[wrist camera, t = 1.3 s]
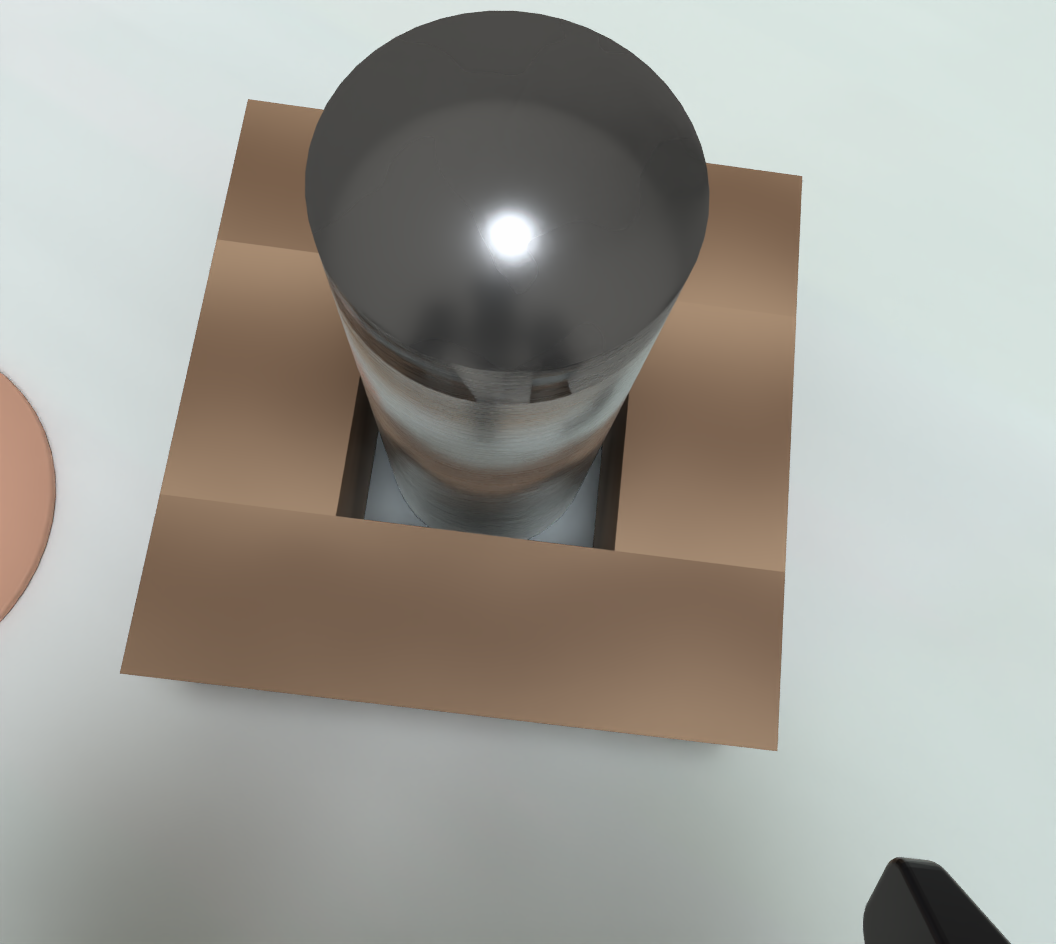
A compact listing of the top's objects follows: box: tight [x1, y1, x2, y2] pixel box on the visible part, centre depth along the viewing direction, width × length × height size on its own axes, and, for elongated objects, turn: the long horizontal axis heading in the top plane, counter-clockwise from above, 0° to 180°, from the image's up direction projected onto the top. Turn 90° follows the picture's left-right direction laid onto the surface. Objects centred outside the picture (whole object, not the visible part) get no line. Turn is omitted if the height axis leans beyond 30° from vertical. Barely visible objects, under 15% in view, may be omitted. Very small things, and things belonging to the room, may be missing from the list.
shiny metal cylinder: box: [305, 11, 710, 540], centre depth 17 cm, size 5×5×12 cm
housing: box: [120, 99, 802, 751], centre depth 21 cm, size 13×13×4 cm
